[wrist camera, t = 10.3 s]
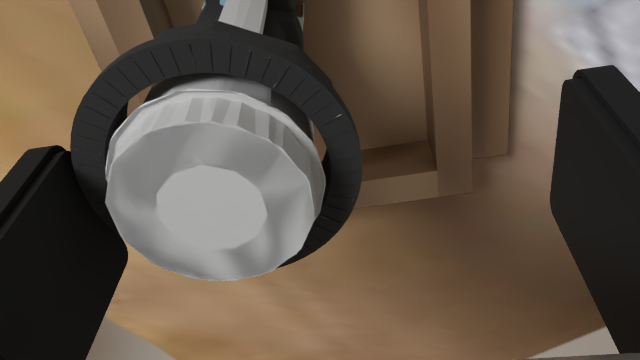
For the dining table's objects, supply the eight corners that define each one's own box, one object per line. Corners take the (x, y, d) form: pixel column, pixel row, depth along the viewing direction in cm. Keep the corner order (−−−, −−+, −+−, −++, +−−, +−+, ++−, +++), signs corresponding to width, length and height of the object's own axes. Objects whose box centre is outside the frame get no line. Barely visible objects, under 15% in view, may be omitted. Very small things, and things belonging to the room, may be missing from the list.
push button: (324, 123, 20) (335, 357, 12) (179, 110, 19) (87, 344, 11) (350, -69, 16) (395, 84, 8) (168, -91, 15) (13, 48, 7)
